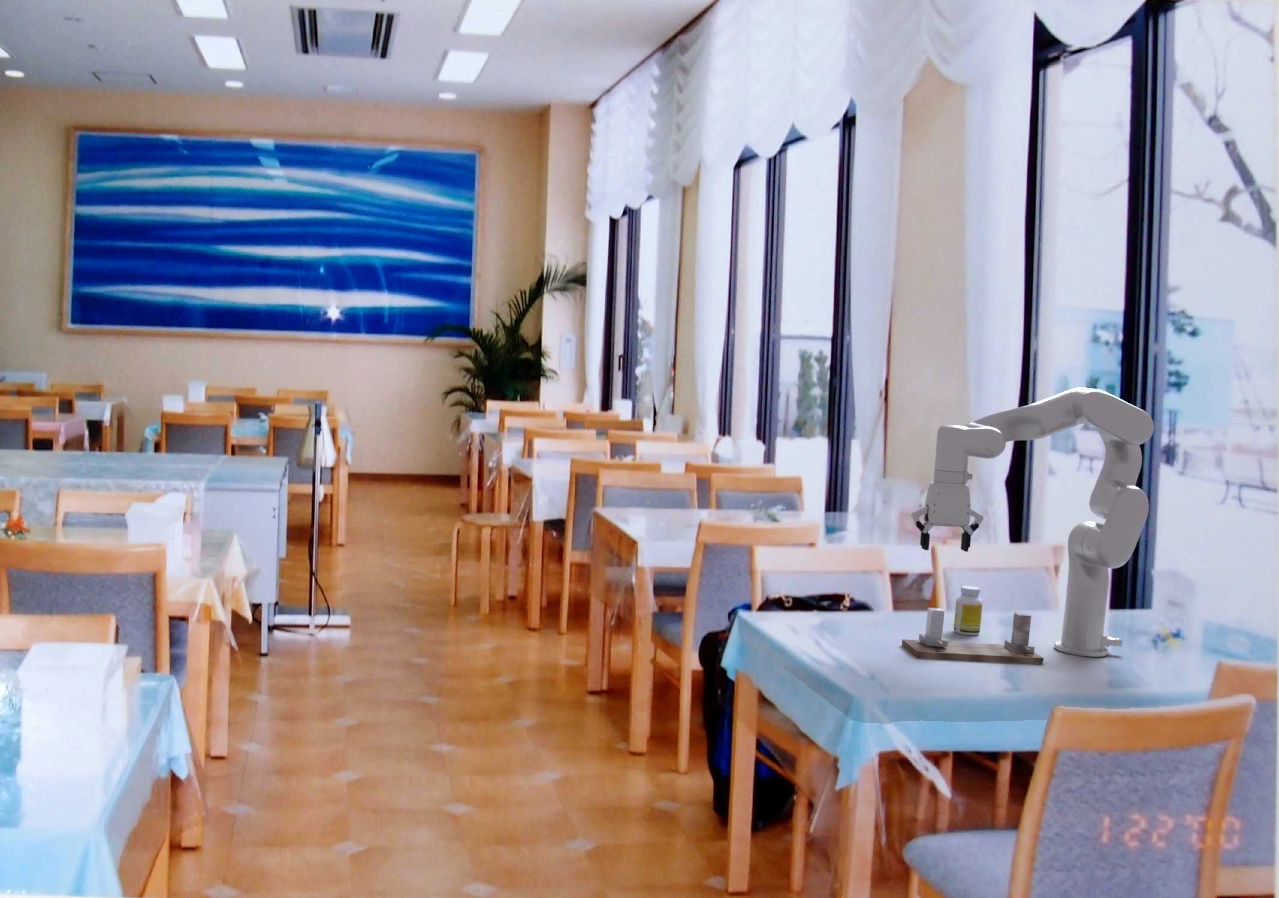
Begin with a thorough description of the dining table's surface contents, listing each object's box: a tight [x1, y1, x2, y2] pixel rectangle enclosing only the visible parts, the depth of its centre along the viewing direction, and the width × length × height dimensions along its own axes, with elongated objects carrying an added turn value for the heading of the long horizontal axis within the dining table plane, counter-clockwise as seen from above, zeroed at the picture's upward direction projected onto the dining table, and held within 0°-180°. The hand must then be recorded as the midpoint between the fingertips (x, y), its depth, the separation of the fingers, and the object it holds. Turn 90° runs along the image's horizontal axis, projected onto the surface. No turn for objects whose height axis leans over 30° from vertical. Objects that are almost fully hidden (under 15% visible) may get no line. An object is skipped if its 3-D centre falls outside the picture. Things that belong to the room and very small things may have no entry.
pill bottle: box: [953, 585, 983, 636], centre depth 355 cm, size 6×6×12 cm
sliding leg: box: [918, 607, 949, 647], centre depth 330 cm, size 5×9×8 cm, turn 6°
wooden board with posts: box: [901, 612, 1045, 665], centre depth 331 cm, size 30×12×10 cm, turn 96°
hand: (944, 549), depth 333 cm, fingers open, 9 cm apart
